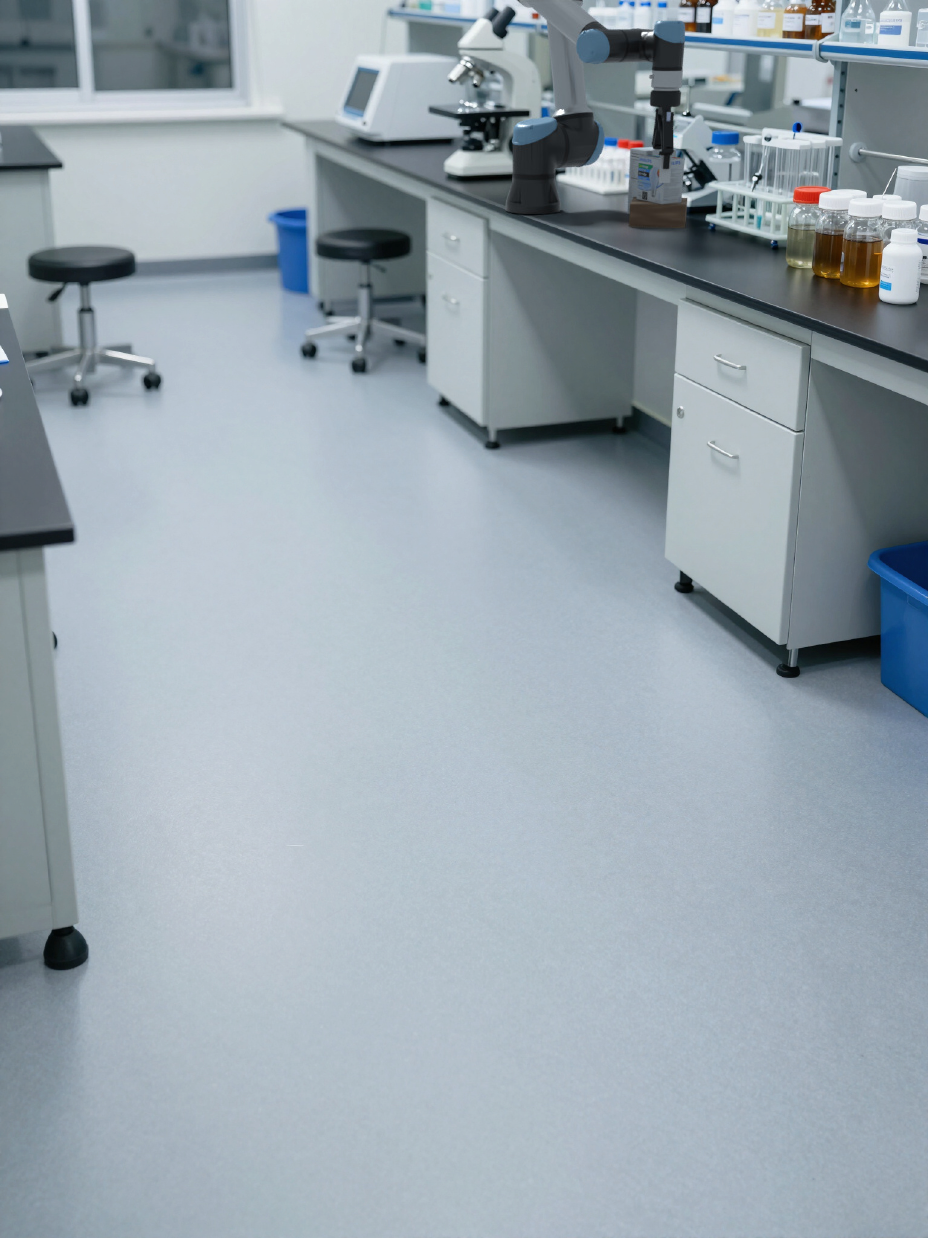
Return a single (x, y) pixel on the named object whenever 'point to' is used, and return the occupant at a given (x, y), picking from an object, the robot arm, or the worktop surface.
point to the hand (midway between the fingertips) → (660, 179)
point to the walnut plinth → (657, 214)
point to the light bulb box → (650, 184)
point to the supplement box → (634, 170)
